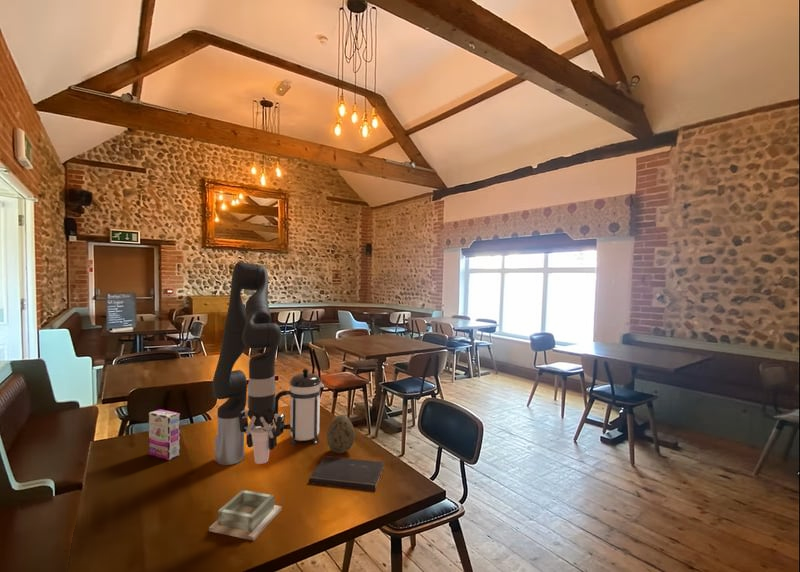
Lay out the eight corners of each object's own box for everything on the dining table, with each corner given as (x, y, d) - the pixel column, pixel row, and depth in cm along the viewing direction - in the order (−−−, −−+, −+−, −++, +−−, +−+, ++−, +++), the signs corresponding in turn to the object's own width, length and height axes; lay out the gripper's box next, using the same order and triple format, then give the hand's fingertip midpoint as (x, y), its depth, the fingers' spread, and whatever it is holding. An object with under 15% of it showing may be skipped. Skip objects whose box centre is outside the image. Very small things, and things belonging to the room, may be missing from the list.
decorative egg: (346, 461, 149) (346, 422, 148) (321, 455, 153) (321, 417, 152) (358, 448, 159) (359, 412, 158) (335, 444, 163) (335, 408, 162)
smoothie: (251, 468, 112) (252, 419, 111) (248, 458, 117) (248, 412, 117) (275, 463, 115) (275, 415, 114) (270, 453, 121) (271, 408, 120)
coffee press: (304, 427, 178) (305, 362, 177) (329, 437, 169) (331, 368, 167) (272, 441, 164) (272, 369, 163) (297, 452, 155) (298, 377, 153)
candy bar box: (180, 455, 151) (180, 412, 150) (168, 461, 146) (168, 417, 145) (160, 449, 155) (160, 408, 154) (148, 454, 150) (147, 412, 149)
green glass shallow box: (208, 531, 108) (208, 513, 108) (240, 501, 122) (240, 486, 122) (253, 540, 105) (254, 522, 105) (281, 509, 119) (281, 493, 119)
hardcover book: (324, 461, 149) (325, 456, 149) (384, 468, 146) (384, 462, 145) (308, 485, 133) (308, 478, 133) (375, 492, 130) (375, 485, 130)
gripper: (231, 393, 113) (231, 450, 114) (277, 397, 110) (277, 456, 111) (247, 385, 120) (247, 439, 121) (290, 389, 117) (290, 444, 118)
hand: (261, 447), depth 116 cm, fingers closed on smoothie, 6 cm apart
